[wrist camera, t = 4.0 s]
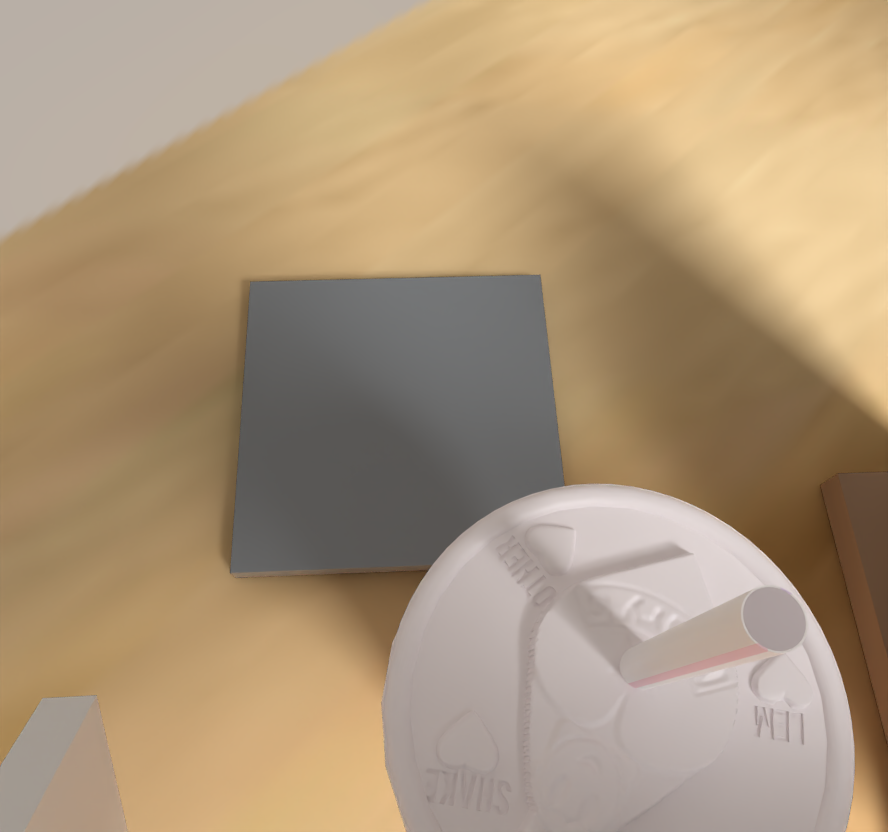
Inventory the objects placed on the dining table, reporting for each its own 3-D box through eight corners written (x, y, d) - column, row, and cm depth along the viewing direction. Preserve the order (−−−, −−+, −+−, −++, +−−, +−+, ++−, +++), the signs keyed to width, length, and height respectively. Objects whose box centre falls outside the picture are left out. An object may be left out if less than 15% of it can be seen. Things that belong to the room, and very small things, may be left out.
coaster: (537, 285, 24) (540, 274, 24) (568, 564, 20) (572, 559, 20) (254, 292, 24) (250, 281, 23) (235, 577, 20) (230, 573, 20)
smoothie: (696, 682, 19) (1232, 554, 7) (582, 935, 17) (1060, 1503, 4) (481, 551, 21) (577, 228, 8) (348, 772, 18) (174, 830, 5)
